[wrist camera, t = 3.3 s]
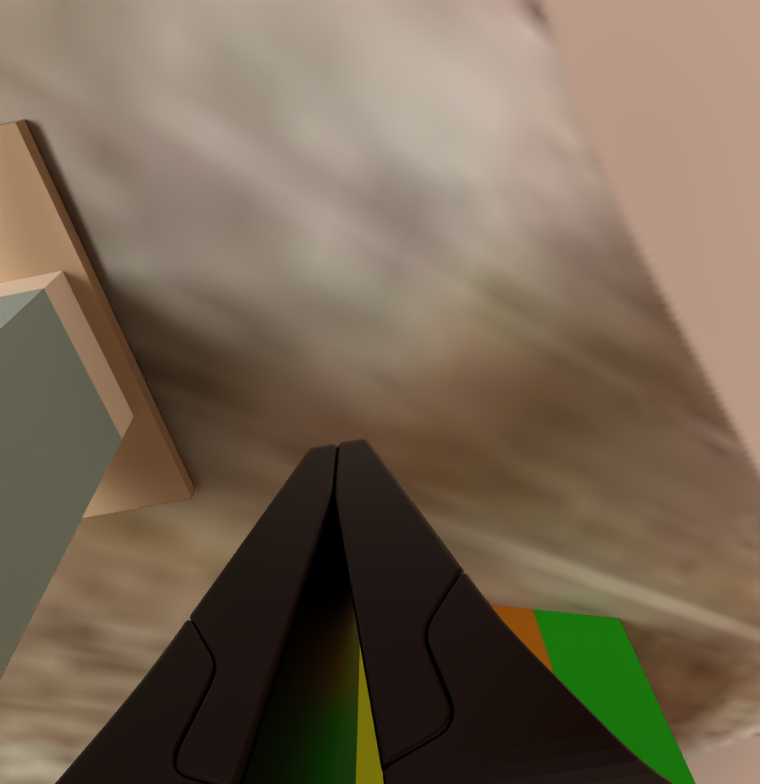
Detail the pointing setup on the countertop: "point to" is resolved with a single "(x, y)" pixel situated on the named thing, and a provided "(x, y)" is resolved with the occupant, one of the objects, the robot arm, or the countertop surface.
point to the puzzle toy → (572, 687)
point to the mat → (65, 253)
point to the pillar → (47, 438)
